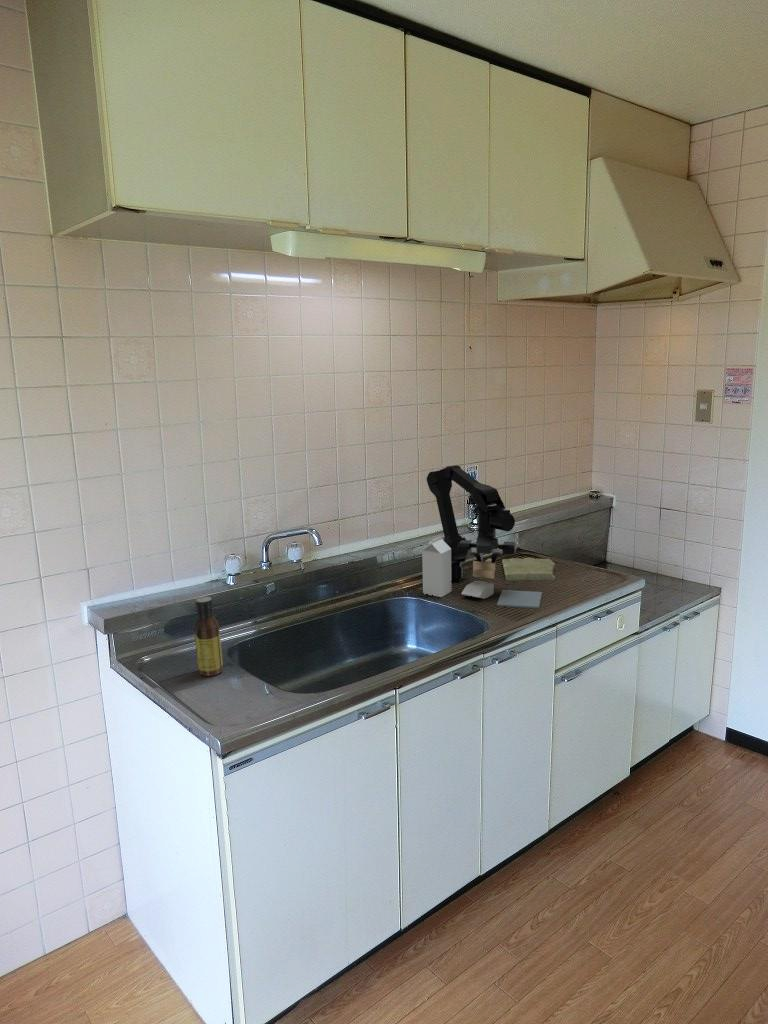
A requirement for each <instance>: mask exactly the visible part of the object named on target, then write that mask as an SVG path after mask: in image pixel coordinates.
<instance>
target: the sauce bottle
mask: <svg viewBox="0 0 768 1024" xmlns="http://www.w3.org/2000/svg"><path fill="white" fill-rule="evenodd" d="M212 605H213V599H212V597H211V596H201V597H198V598H196V599H195V607H196V612H197V614H196V615H197V617H196V621H195V624H194V628H193V629H194V630H193V635H194V642H195V643H194V645H195V653H196V662H197V663H196V664H197V668H198V673H199V675H201V676H203V677H204V676H205V677H214V676H216V675H219V674H220V673H222V672H223V670H224V669H223V665H224V662H223V651H222V645H221V644H222V642H221V632H220V626H219V622H218V620H217V619H216V617H215V616H214V612H213V606H212Z"/></svg>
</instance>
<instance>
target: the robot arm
mask: <svg viewBox="0 0 768 1024" xmlns="http://www.w3.org/2000/svg"><path fill="white" fill-rule="evenodd" d="M452 481H453V482H454V483H455V484H457V485H458V486H460V488H462V489H464V491H465V492H467V493H468V494H469V495H470V496H471V500H472V501H473V502H474V504H475V505H476V507H474V508H473V512H477V527H478V528H477V537H476V543H475V542H474V543H473V542H472V540H471V539H470V540H469V539H466V537H462V536H461V535H460V534H459V530H458V525H457V520H456V517H455V512H454V509H453V504H452V498H451V494H450V493H451V491H452V488H453V483H452ZM426 482H427V487H428V489H429V491H430V492H431V493H432V495H433V496H434V497H435V500H436V503H437V505H436V506H437V510H438V513H439V517H440V522H441V526H442V527H441V528H442V531H443V535H444V538H443V541H444V542H445V543H446V544H447V545H448V546H449V547H450V548H451V581H456V582H455V583H460V582H459V581H461V580H463V578H464V577H463V576H464V575H463V574H464V572H463V571H464V570H463V568H464V567H463V566H462V563H465V562H466V559H467V555H468V552H469V550H471V551H470V554H471V556H472V555H473V556H474V557H475V558H476V561H480V562H484V558H483V554H487V555H490V554H491V559H492V560H491V563H495V561H497V560H498V559H497V558H498V557H500V556H502V554H505V555H515V554H516V552H517V551H516V550H517V543H516V542H515V541H503V544H502V543H501V544H499V539H498V538H496V532H497V531H496V530H499V531H502V532H503V531H504V532H508V533H509V532H510V531H512V530H513V529H514V527H515V524H516V523H515V522H516V519H515V518H514V517H515V516H514V515H513V514H511V510H510V509H506V506H505V503H504V502H503V501H502V500H503V499H502V498H501V496H500V494H499V491H498V489H496V488H495V487H493V486H491V485H489V484H485V483H481V482H479V481H478V480H477V479H475V478H474V477H473V476H471V475H470V474H469V473H468V472H466V471H465V470H464V469H462V468H461V466H460V465H457V464H456V465H448V466H446V467H444V468H442V469H439V470H434V471H430V472H429V473H428V474H427V476H426Z"/></svg>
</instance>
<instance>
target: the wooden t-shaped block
mask: <svg viewBox="0 0 768 1024" xmlns="http://www.w3.org/2000/svg"><path fill="white" fill-rule="evenodd" d="M491 560H492V558H487V559H486V560H485V561H483V562H480V561H477V560H473V561H472V577H476V578H484V579H485V578H486V579H491V580H492V579H495V571H496V564H497V563H496V561H497V560H496V561H495V563H491Z"/></svg>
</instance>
